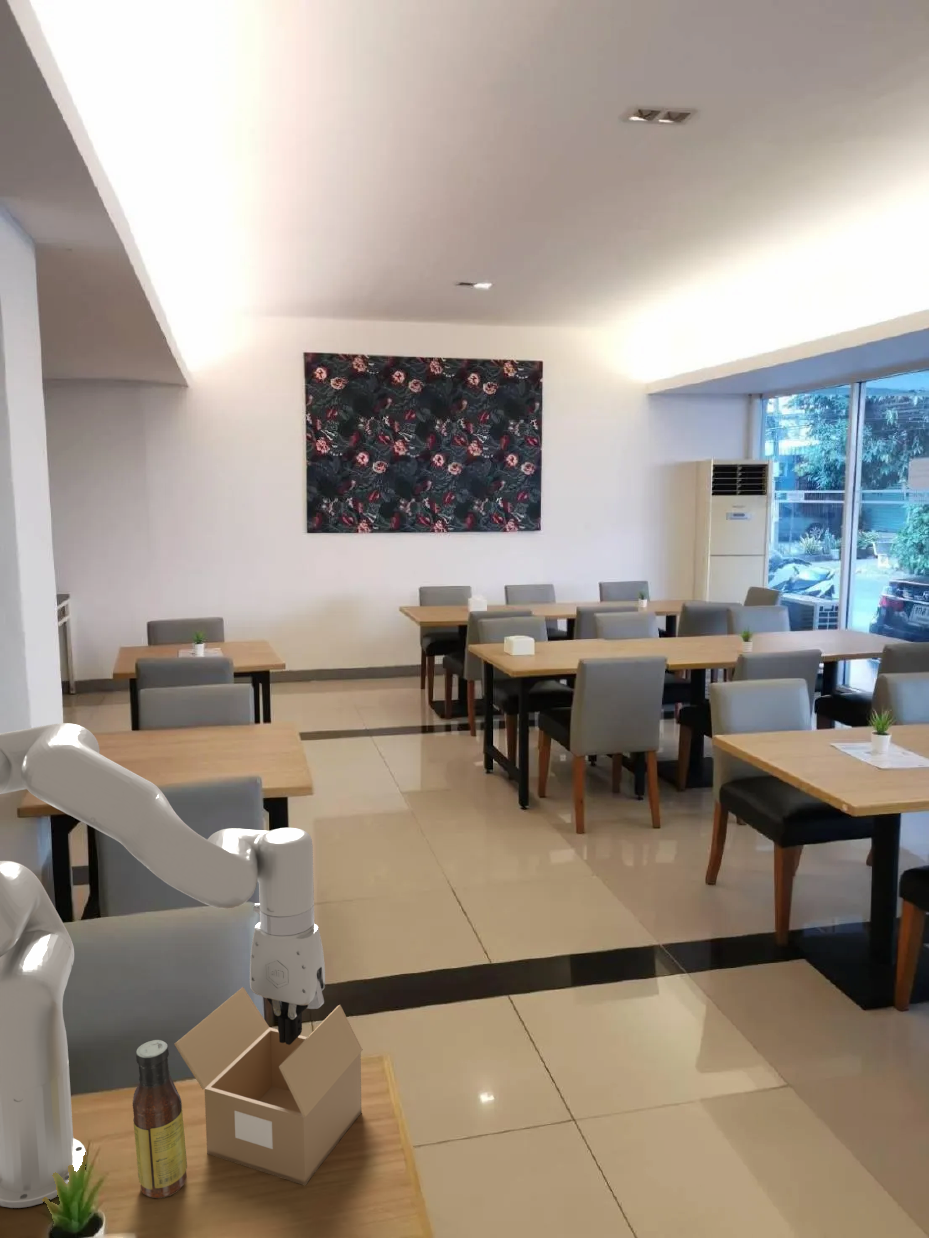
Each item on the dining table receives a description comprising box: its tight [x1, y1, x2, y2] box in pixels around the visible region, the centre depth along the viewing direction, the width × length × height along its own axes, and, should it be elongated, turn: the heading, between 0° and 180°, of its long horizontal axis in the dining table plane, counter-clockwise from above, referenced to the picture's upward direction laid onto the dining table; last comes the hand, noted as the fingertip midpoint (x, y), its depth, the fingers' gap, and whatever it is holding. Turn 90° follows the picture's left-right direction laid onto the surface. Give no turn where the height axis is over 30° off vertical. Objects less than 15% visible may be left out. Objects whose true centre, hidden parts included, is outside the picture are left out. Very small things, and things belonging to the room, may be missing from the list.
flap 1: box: [173, 986, 270, 1090], centre depth 137 cm, size 7×16×1 cm
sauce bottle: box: [132, 1039, 188, 1199], centre depth 124 cm, size 7×6×20 cm
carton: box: [204, 1026, 363, 1186], centre depth 134 cm, size 16×16×10 cm
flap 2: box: [279, 1004, 363, 1118], centre depth 131 cm, size 7×16×1 cm
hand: (290, 1038), depth 133 cm, fingers closed
